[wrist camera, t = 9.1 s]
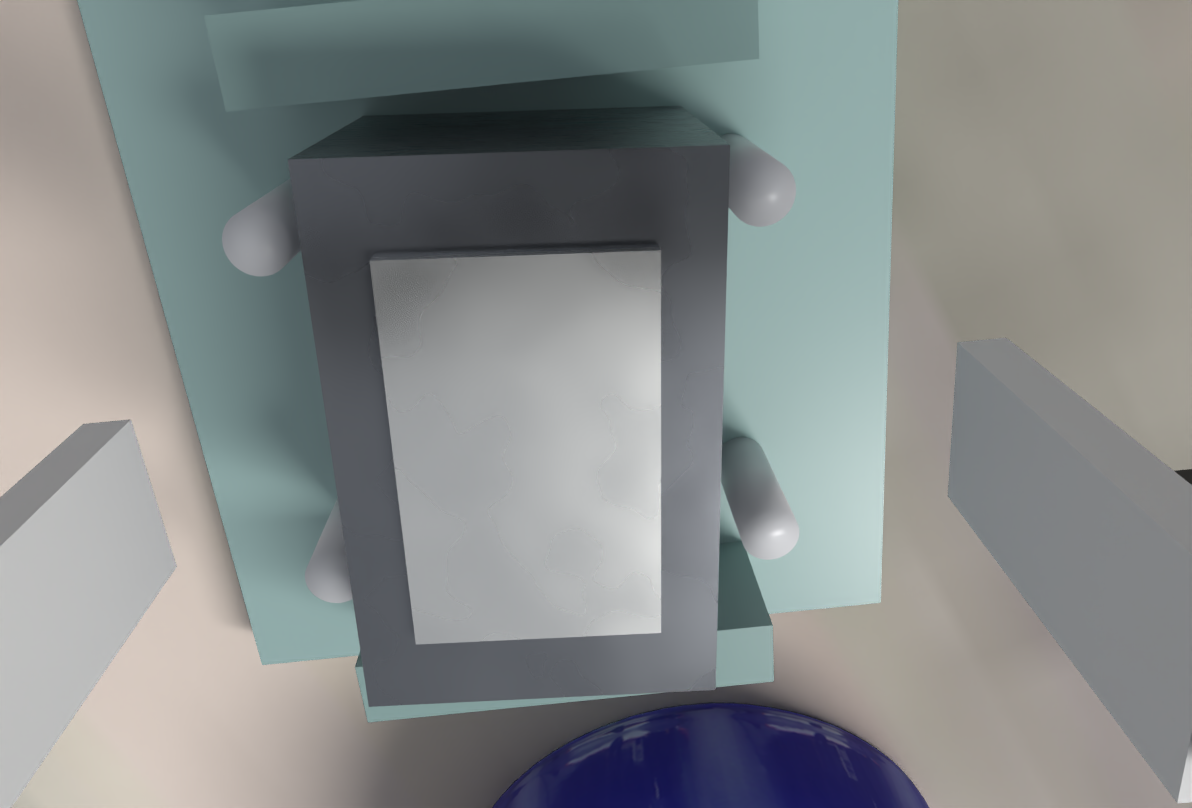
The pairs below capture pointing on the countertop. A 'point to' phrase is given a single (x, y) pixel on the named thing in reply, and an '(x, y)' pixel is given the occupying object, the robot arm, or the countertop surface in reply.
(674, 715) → the dog bowl
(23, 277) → the countertop surface
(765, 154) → the pin tray
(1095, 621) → the robot arm
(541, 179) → the block
